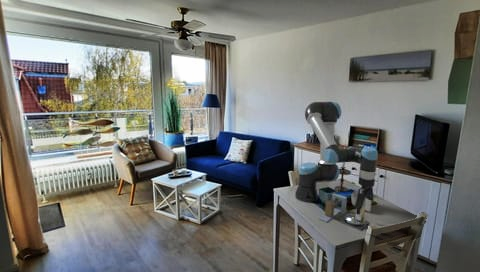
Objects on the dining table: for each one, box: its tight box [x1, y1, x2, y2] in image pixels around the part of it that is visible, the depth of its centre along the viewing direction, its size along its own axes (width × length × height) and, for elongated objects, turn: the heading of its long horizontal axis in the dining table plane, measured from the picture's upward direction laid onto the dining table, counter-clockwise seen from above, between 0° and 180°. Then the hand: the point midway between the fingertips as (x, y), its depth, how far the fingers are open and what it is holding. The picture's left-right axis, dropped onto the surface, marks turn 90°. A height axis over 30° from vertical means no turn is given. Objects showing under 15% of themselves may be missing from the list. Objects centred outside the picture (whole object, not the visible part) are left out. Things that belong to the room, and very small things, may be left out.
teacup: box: [350, 190, 367, 207], centre depth 159 cm, size 14×11×8 cm
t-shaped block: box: [319, 193, 348, 223], centre depth 148 cm, size 22×9×9 cm, turn 135°
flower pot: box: [318, 186, 339, 205], centre depth 163 cm, size 9×9×9 cm
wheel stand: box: [339, 217, 369, 231], centre depth 140 cm, size 11×11×1 cm
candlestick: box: [334, 144, 352, 193], centre depth 181 cm, size 11×11×35 cm
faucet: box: [344, 205, 366, 225], centre depth 138 cm, size 10×10×11 cm
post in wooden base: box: [324, 199, 342, 217], centre depth 150 cm, size 18×4×9 cm, turn 135°
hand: (362, 214), depth 136 cm, fingers open, 13 cm apart
